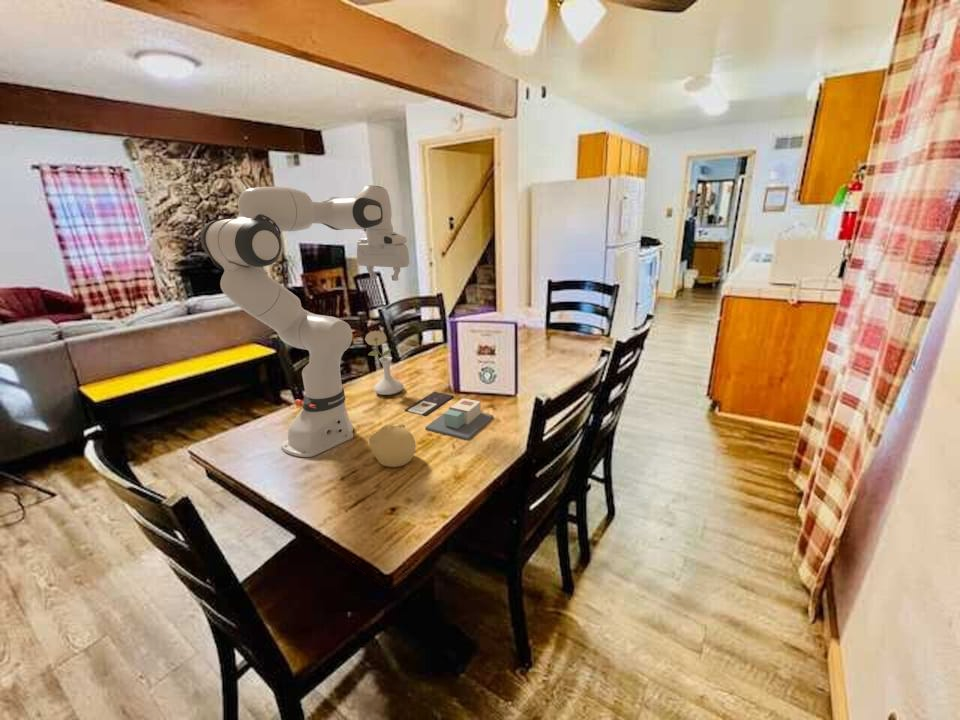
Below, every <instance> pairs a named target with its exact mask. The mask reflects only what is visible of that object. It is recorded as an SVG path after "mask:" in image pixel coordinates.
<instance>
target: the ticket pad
mask: <svg viewBox="0 0 960 720" xmlns="http://www.w3.org/2000/svg"><path fill="white" fill-rule="evenodd" d="M481 407H482V403H481V401H478V400H473V399H468V398H463V397H462V398H461V399H459V400H458V401H456V403H454V404H453V405H451V406H450V407H448V410H449V409H450V408H452V409H456V410H461V411H464V424H463V425H462V426H461V427H460V428H458V429H456V428H452V427H448V426H445V421H444V413H443V414H441V415H439V416H438V417H437V418H436V419H434V420H433V421H431V422H430V423H429V424H428V425H426V426H425V430H426V431H431V432H435V433H439V434H443V435H446V436H450V437H455V438H459V439H462V440H466V441H469V440H470V439H471V438H472V437H473V436H475V435H476V434H477V433H478V432H479V431H480V430H481V429H483V427H485V425H487V424H488V423H489V422H490V421H491V420H492V419H493V418H494V414H489V413H486V412H485V413H484V412H482V408H481Z"/></svg>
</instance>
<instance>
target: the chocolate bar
mask: <svg viewBox="0 0 960 720" xmlns="http://www.w3.org/2000/svg"><path fill="white" fill-rule="evenodd" d="M453 398H454V395H453V394H452V395H451V394H446V393H443V392H438V391H433V392H431V393H430V394H428V395H427V396H425V397H423V398H422V399H420V400H418V401H417V402H414V403H413V404H411V405H410V406H408V407H406V408H405V409H404V412H407V413H410V414H416V415H418V416H423V417H426V416H429V414H431V413H432V412H434V411H436V410H437V409H438V408H440V407H441V406H443V405H444V404H446V403H447V402H448V401H450V400H452V399H453Z"/></svg>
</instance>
